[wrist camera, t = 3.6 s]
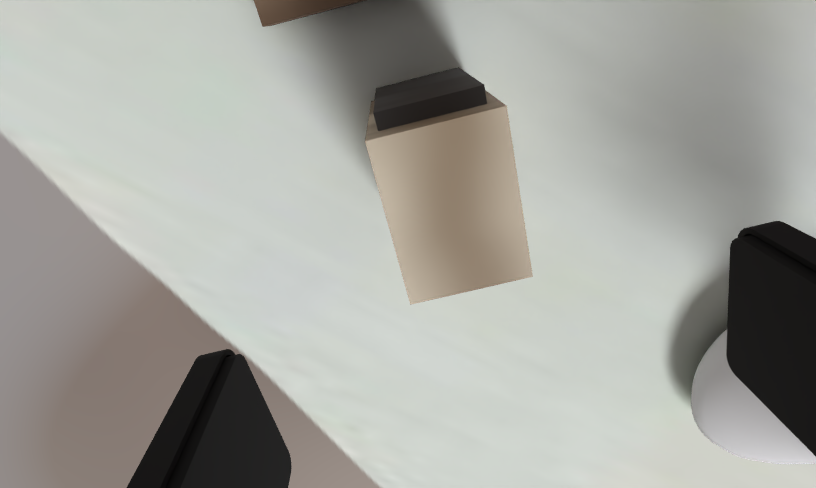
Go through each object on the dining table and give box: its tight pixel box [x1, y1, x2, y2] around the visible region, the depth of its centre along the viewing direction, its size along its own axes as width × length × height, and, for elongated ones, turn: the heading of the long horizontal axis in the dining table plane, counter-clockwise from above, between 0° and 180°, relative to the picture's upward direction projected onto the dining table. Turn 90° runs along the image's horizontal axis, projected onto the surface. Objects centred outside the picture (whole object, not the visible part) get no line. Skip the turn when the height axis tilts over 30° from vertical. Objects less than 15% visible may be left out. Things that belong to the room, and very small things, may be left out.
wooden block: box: [365, 67, 533, 305], centre depth 20 cm, size 4×7×8 cm
